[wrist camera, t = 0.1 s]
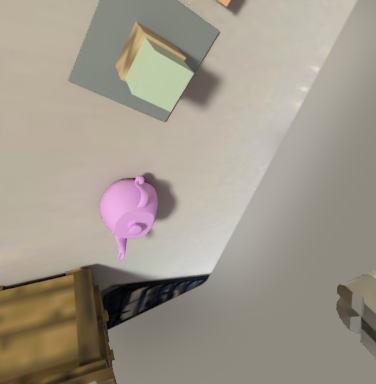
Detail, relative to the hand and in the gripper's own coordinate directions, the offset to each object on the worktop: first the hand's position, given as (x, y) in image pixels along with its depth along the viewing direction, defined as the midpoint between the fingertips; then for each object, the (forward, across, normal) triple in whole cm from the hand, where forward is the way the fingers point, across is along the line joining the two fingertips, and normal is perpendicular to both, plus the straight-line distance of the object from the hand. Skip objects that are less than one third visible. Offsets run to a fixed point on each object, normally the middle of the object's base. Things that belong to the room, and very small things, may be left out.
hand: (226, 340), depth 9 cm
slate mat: (+52, -7, -7) cm, 53 cm away
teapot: (+63, +5, +24) cm, 68 cm away
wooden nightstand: (+74, +38, +54) cm, 99 cm away
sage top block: (+46, -7, -5) cm, 47 cm away
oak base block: (+52, -7, -7) cm, 53 cm away
